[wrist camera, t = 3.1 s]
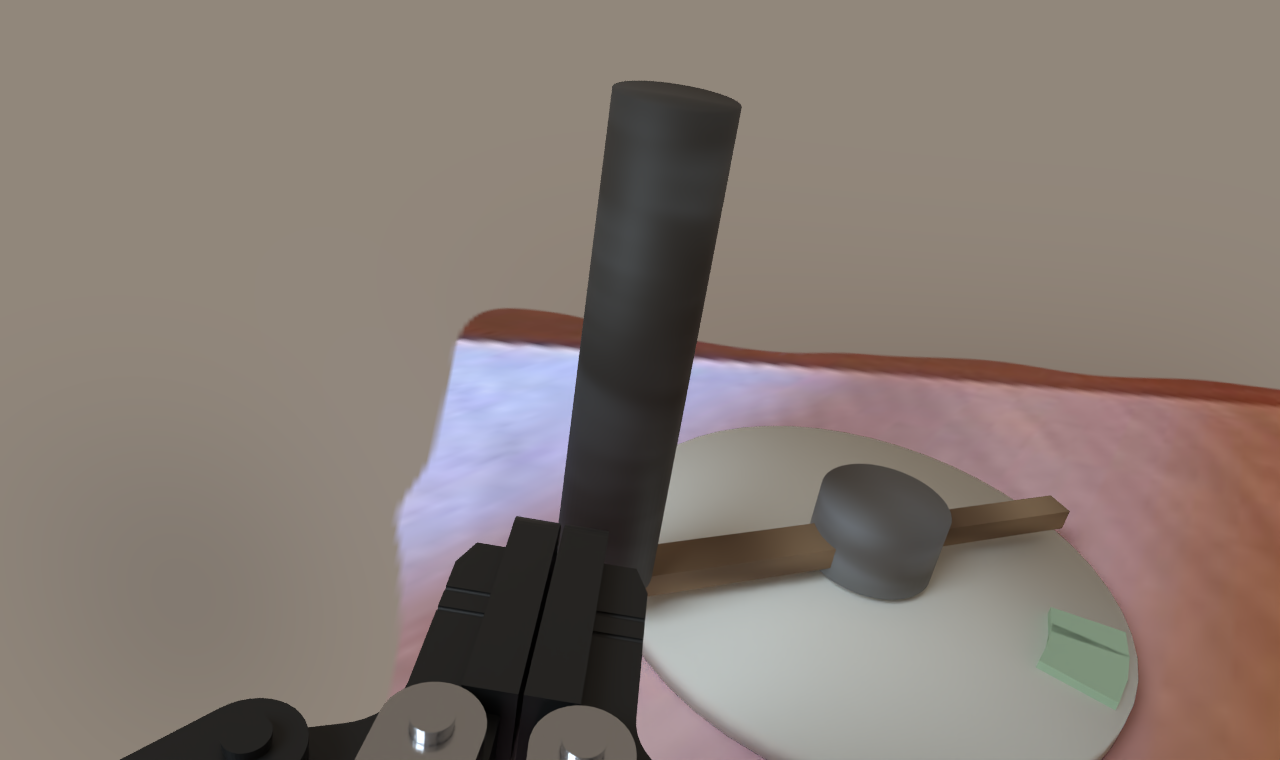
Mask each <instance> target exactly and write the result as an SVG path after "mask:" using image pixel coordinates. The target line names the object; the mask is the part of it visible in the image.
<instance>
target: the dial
mask: <svg viewBox="0 0 1280 760" xmlns="http://www.w3.org/2000/svg"><path fill="white" fill-rule="evenodd" d="M741 108H742V107H741V104H739V103H738V102H737V101H735V100H734V99H732V98H729V97H727V96H724V95H721V94H718V93H715V92H712V91H708V90H704V89H700V88H695V87H690V86H685V85H679V84H672V83H664V82H654V81H624V82H619V83H616V84H614V85H613V86H612V95H611V103H610V111H609V120H608V127H607V135H606V143H605V151H604V160H603V167H602V175H601V184H600V192H599V200H598V208H597V216H596V224H595V233H594V240H593V249H592V257H591V265H590V273H589V281H588V289H587V297H586V305H585V314H584V321H583V329H582V337H581V346H580V354H579V362H578V370H577V378H576V386H575V394H574V402H573V410H572V419H571V427H570V435H569V443H568V451H567V459H566V467H565V475H564V483H563V491H562V500H561V508H560V516H559V523H560V524H561V533H560V540H559V546H560V541H561V537H562V533H563V529H564V525H565V524H567V525H573V526H579V527H585V528H591V529H597V530H603V531H609V536H608V542H607V548H606V554H605V560H604V564H610V565H616V566H622V567H628V568H634V569H637V571H638V573H639V575H640V577H641V580H642V582H643V584H644V586H645V588H646V591H647V593H648V596H654V595H661V594H667V593H674V592H680V591H686V590H693V589H699V588H706V587H712V586H719V585H725V584H731V583H738V582H744V581H751V580H757V579H764V578H770V577H777V576H783V575H789V574H796V573H802V572H809V571H815V570H820V571H821V572H822V573H823V574H824V575H825V576H826V577H828V578H829V579H830V580H832V581H833V582H835V583H836V584H838V585H840V586H842V587H844V588H845V589H848V590H850V591H852V592H855V593H858V594H860V595H864V596H867V597H871V598H877V599H885V600H899V599H906V598H910V597H913V596H915V595H917V594H919V593H921V592H922V591H923V590H924V589H925V588H926V587H927V585H928V584H929V581H930V579H931V576H932V573H933V571H934V568H935V566H936V563H937V560H938V558H939V555H940V552H941V550H942V547H943V546H949V545H956V544H962V543H969V542H975V541H982V540H989V539H995V538H1002V537H1008V536H1015V535H1021V534H1028V533H1034V532H1041V531H1047V530H1054V529H1060V528H1062V527H1063V525H1064V523H1065V520H1066V518H1067V516H1068V514H1069V512H1070V511H1069V510H1067V509H1066V508H1065V507H1064V506H1063V505H1061V504H1060V503H1059V502H1058V501H1057V500H1055V499H1054V498H1053V497H1052V496H1043V497H1036V498H1028V499H1021V500H1014V501H1006V502H999V503H991V504H984V505H976V506H969V507H961V508H954V509H949V508H948V506H947V504H946V503H945V501H944V500H943V499H942V498H941V497H940V496H939V495H938V494H937V493H936V492H935V491H934V490H933V489H931V488H930V487H929V486H927V485H926V484H924V483H923V482H921V481H919V480H918V479H916V478H914V477H912V476H910V475H907V474H905V473H903V472H900V471H897V470H894V469H891V468H887V467H883V466H878V465H872V464H848V465H843V466H839V467H837V468H834V469H832V470H831V471H829V472H828V473H827V474H826V475H825V477H824V478H823V480H822V483H821V487H820V490H819V494H818V497H817V501H816V504H815V508H814V511H813V515H812V518H811V522H810V524H805V525H797V526H790V527H782V528H775V529H767V530H760V531H752V532H745V533H737V534H729V535H722V536H714V537H707V538H699V539H692V540H684V541H677V542H669V543H661V544H658V542H659V537H660V531H661V526H662V521H663V516H664V510H665V505H666V500H667V495H668V489H669V484H670V479H671V474H672V469H673V463H674V458H675V453H676V448H677V442H678V437H679V432H680V427H681V422H682V416H683V411H684V406H685V401H686V395H687V390H688V385H689V380H690V374H691V369H692V364H693V359H694V354H695V348H696V343H697V338H698V333H699V327H700V322H701V317H702V312H703V306H704V301H705V296H706V291H707V286H708V280H709V274H710V270H711V265H712V259H713V254H714V249H715V244H716V238H717V233H718V228H719V223H720V218H721V211H722V207H723V202H724V197H725V191H726V186H727V181H728V176H729V170H730V165H731V160H732V155H733V149H734V144H735V139H736V134H737V129H738V123H739V118H740V113H741ZM558 550H559V547H558ZM648 596H647V597H648Z"/></svg>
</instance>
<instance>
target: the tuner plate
mask: <svg viewBox="0 0 1280 760" xmlns="http://www.w3.org/2000/svg"><path fill="white" fill-rule="evenodd" d="M848 464H872V465H878V466H883V467H887V468H891V469H894V470H897V471H900V472H903V473H905V474H907V475H910V476H912V477H914V478H916V479H918V480H919V481H921V482H923V483H924V484H926V485H927V486H929V487H930V488H931V489H933V490H934V491H935V492H936V493H937V494H938V495H939V496H940V497H941V498H942V499H943V500H944V501H945V503H946V504H947V506H948V508H949V509H954V508H961V507H969V506H976V505H984V504H991V503H999V502H1006V501H1014V500H1013V499H1011V498H1010V497H1008V496H1007V495H1005V494H1004V493H1002V492H1000V491H999V490H997V489H995V488H993V487H991V486H990V485H988V484H986V483H984V482H983V481H981V480H979V479H977V478H975V477H973V476H971V475H969V474H967V473H965V472H963V471H961V470H959V469H957V468H955V467H953V466H950V465H948V464H946V463H943V462H941V461H938V460H936V459H933V458H931V457H929V456H926V455H924V454H921V453H918V452H915V451H912V450H909V449H906V448H903V447H900V446H898V445H894V444H890V443H887V442H883V441H880V440H876V439H872V438H868V437H864V436H859V435H854V434H850V433H845V432H839V431H832V430H825V429H819V428H807V427H795V426H760V427H745V428H737V429H731V430H725V431H719V432H715V433H711V434H707V435H703V436H700V437H696V438H694V439H691V440H689V441H686V442H683V443H681V444H678V445H677V448H676V453H675V458H674V463H673V469H672V474H671V479H670V484H669V489H668V495H667V500H666V505H665V510H664V516H663V521H662V526H661V531H660V537H659V542H658V544H661V543H669V542H677V541H684V540H692V539H699V538H707V537H714V536H722V535H729V534H737V533H745V532H752V531H760V530H767V529H775V528H782V527H790V526H797V525H805V524H810V522H811V518H812V515H813V511H814V508H815V504H816V501H817V497H818V494H819V490H820V487H821V483H822V480H823V478H824V477H825V475H826V474H827V473H828V472H829V471H831V470H832V469H834V468H837V467H839V466H843V465H848ZM642 655H643V657H644V659H645V660H646V661H647V662H648V663H649V665H650V666H651V667H652V668H653V669H654V671H655V672H656V673H657V674H658V675H659V676H660V678H661V679H662V680H663V681H664V682H665V684H666V685H667V686H668V687H669V688H670V689H671V690H672V691H674V692H675V693H676V694H677V695H678V696H679V697H680V698H681V699H682V700H683V701H684V702H685V703H686V704H687V705H688V706H689V707H690V708H692V709H693V710H694V711H695V712H696V713H697V714H699V715H700V716H701V717H703V718H704V719H705V720H707V721H708V722H709V723H711V724H712V725H713V726H715V727H716V728H717V729H719V730H720V731H721V732H723V733H724V734H725V735H727V736H728V737H730V738H731V739H733V740H735V741H736V742H738V743H740V744H741V745H743V746H745V747H746V748H748V749H750V750H751V751H753V752H754V753H756V754H758V755H759V756H761V757H763V758H764V759H767V760H1102V758H1103V757H1104V756H1105V755H1106V754H1107V752H1108V751H1109V750H1110V749H1111V747H1112V745H1113V744H1114V742H1115V740H1116V738H1117V737H1118V735H1119V733H1120V731H1121V730H1122V728H1123V726H1124V724H1125V722H1126V720H1127V718H1128V716H1129V714H1130V711H1131V709H1132V707H1133V705H1134V701H1135V696H1136V691H1137V686H1138V661H1137V654H1136V650H1135V646H1134V642H1133V638H1132V634H1131V632H1130V629H1129V627H1128V625H1127V622H1126V620H1125V618H1124V615H1123V613H1122V611H1121V609H1120V607H1119V606H1118V604H1117V602H1116V601H1115V599H1114V597H1113V596H1112V594H1111V592H1110V591H1109V589H1108V587H1107V586H1106V585H1105V584H1104V582H1103V581H1102V580H1101V578H1100V577H1099V576H1098V574H1097V573H1096V572H1095V571H1094V569H1093V568H1092V567H1091V566H1090V564H1089V563H1088V562H1087V561H1086V560H1085V559H1084V558H1083V557H1082V556H1081V555H1080V554H1079V553H1078V552H1077V551H1076V550H1075V549H1074V548H1073V546H1072V545H1070V544H1069V543H1068V542H1067V541H1066V540H1065V539H1064V538H1063V537H1061V536H1060V535H1059V534H1058V533H1057V532H1056V531H1055V530H1047V531H1041V532H1034V533H1028V534H1021V535H1015V536H1008V537H1002V538H995V539H989V540H982V541H975V542H969V543H962V544H956V545H949V546H943V547H942V550H941V552H940V555H939V558H938V560H937V563H936V566H935V568H934V571H933V573H932V576H931V579H930V581H929V584H928V585H927V587H926V588H925V589H924V590H923V591H922V592H921V593H919V594H917V595H915V596H913V597H910V598H906V599H899V600H885V599H877V598H871V597H867V596H864V595H860V594H858V593H855V592H852V591H850V590H848V589H845V588H844V587H842V586H840V585H838V584H836V583H835V582H833V581H832V580H830V579H829V578H828V577H826V576H825V575H824V574H823V573H822V572H821V571H820V570H815V571H809V572H802V573H796V574H789V575H783V576H777V577H770V578H764V579H757V580H751V581H744V582H738V583H731V584H725V585H719V586H712V587H706V588H699V589H693V590H686V591H680V592H674V593H667V594H661V595H654V596H648V597H647V607H646V617H645V628H644V639H643V650H642Z"/></svg>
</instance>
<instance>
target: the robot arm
mask: <svg viewBox="0 0 1280 760" xmlns="http://www.w3.org/2000/svg"><path fill="white" fill-rule="evenodd" d="M560 533H561V524H560V523H554V522H548V521H542V520H536V519H530V518H524V517H518V516H516V518H515V520H514V523H513V526H512V530H511V533H510V536H509V539H508V542H507V545H506V547H501V546H495V545H489V544H483V543H476V544H475V545H474V546H473V547H472V548H470V549H469V550H468V551H467V552H466V553H465V554H464V555H462V556H461V557H460V558H459V559H458V560H457V561H456V562H455V564H454V567H453V569H452V572H451V575H450V577H449V580H448V582H447V585H446V589H445V590H444V592H443V595H442V597H441V600H440V602H439V605H438V610H436V613H435V615H434V618H433V620H432V623H431V625H430V628H429V630H428V633H427V635H426V638H425V640H424V643H423V646H422V648H421V651H420V653H419V656H418V658H417V661H416V663H415V666H414V668H413V671H412V673H411V676H410V679H409V681H408V683H407V685H406V687H405V689H403V690H401V691H399V692H397V693H396V694H395V695H393V696H392V697H391V698H390V699H389V700H388V701H387V702H386V703H385V704H384V706H383V707H382V709H381V710H380V712H378V713H377V714H375V715H372V716H370V717H368V718H365V719H362V720H358V721H355V722H349V723H343V724H334V725H325V726H316V727H307V724H306V721H305V719H304V718H303V716H302V715H301V714H300V713H299V712H298V711H297V710H296V709H295V708H293V707H292V706H290V705H289V704H287V703H284V702H281V701H278V700H273V699H266V698H265V699H264V698H255V699H246V700H241V701H237V702H234V703H231V704H229V705H226V706H223V707H221V708H219V709H217V710H215V711H213V712H211V713H209V714H207V715H206V716H204V717H202V718H200V719H198V720H196V721H194V722H192V723H190V724H188V725H186V726H184V727H183V728H180V729H179V730H176V731H175V732H173V733H171V734H169V735H167V736H165V737H163V738H161V739H159V740H157V741H155V742H153V743H151V744H150V745H147V746H146V747H144V748H142V749H140V750H138V751H136V752H134V753H132V754H130V755H128V756H126V757H124V758H122V759H120V760H651V758H650V757H649V756H648V754H647V753H646V752H645V750H644V748H643V747H642V745H641V743H640V740H639V738H638V734H637V729H636V715H637V704H638V693H639V682H640V671H641V661H642V650H643V639H644V628H645V617H646V607H647V596H648V593H647V591H646V588H645V586H644V584H643V582H642V580H641V577H640V575H639V573H638V571H637V569H634V568H628V567H622V566H616V565H610V564H604V560H605V554H606V548H607V542H608V536H609V531H603V530H597V529H591V528H585V527H579V526H573V525H567V524H565V525H564V529H563V533H562V537H561V541H560V546H559V540H560ZM558 547H559V550H558Z"/></svg>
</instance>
